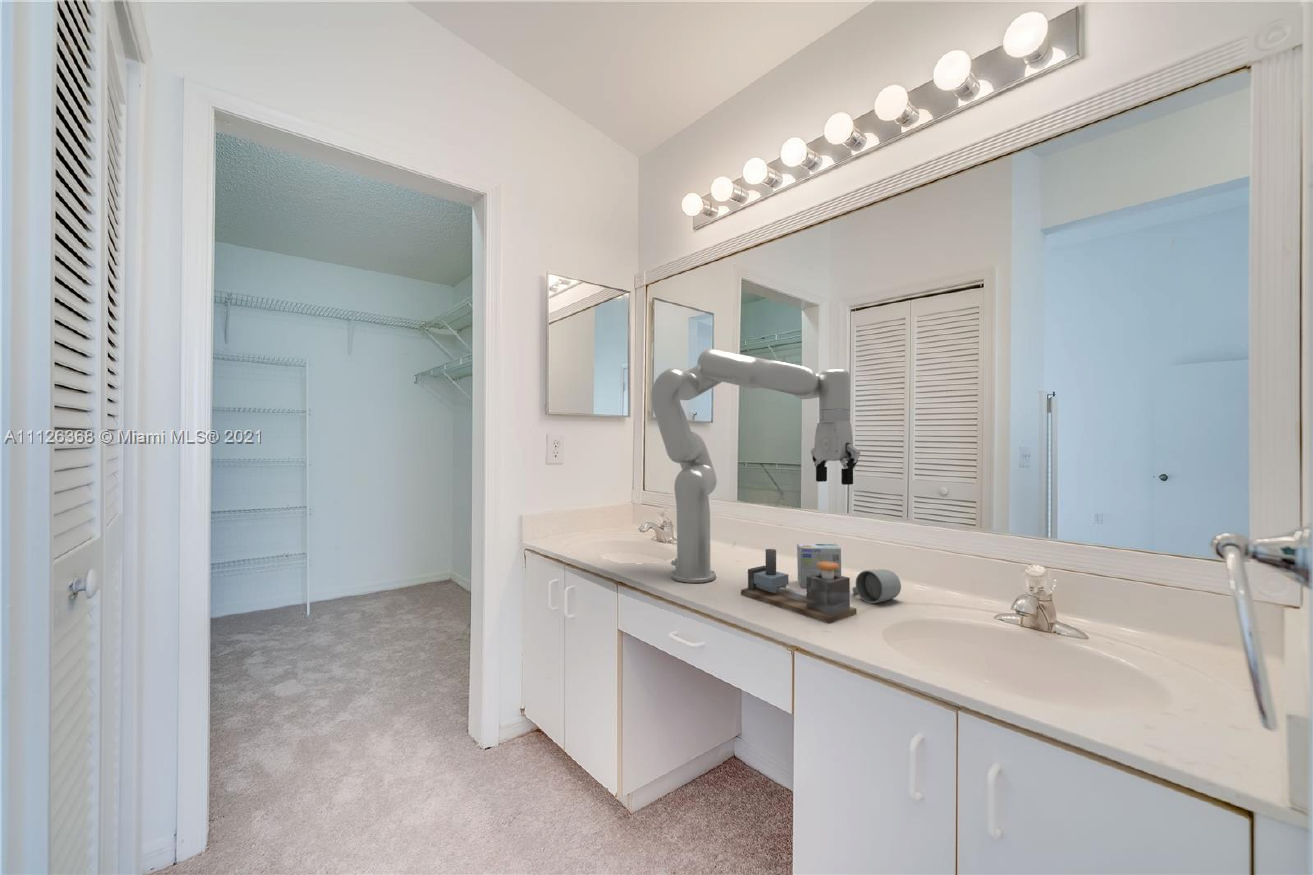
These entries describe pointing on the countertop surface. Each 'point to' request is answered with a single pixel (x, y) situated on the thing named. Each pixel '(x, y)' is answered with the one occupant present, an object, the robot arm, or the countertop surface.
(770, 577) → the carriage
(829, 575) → the button
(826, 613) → the rail board
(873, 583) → the ceramic mug
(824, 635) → the countertop surface
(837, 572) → the light bulb box
